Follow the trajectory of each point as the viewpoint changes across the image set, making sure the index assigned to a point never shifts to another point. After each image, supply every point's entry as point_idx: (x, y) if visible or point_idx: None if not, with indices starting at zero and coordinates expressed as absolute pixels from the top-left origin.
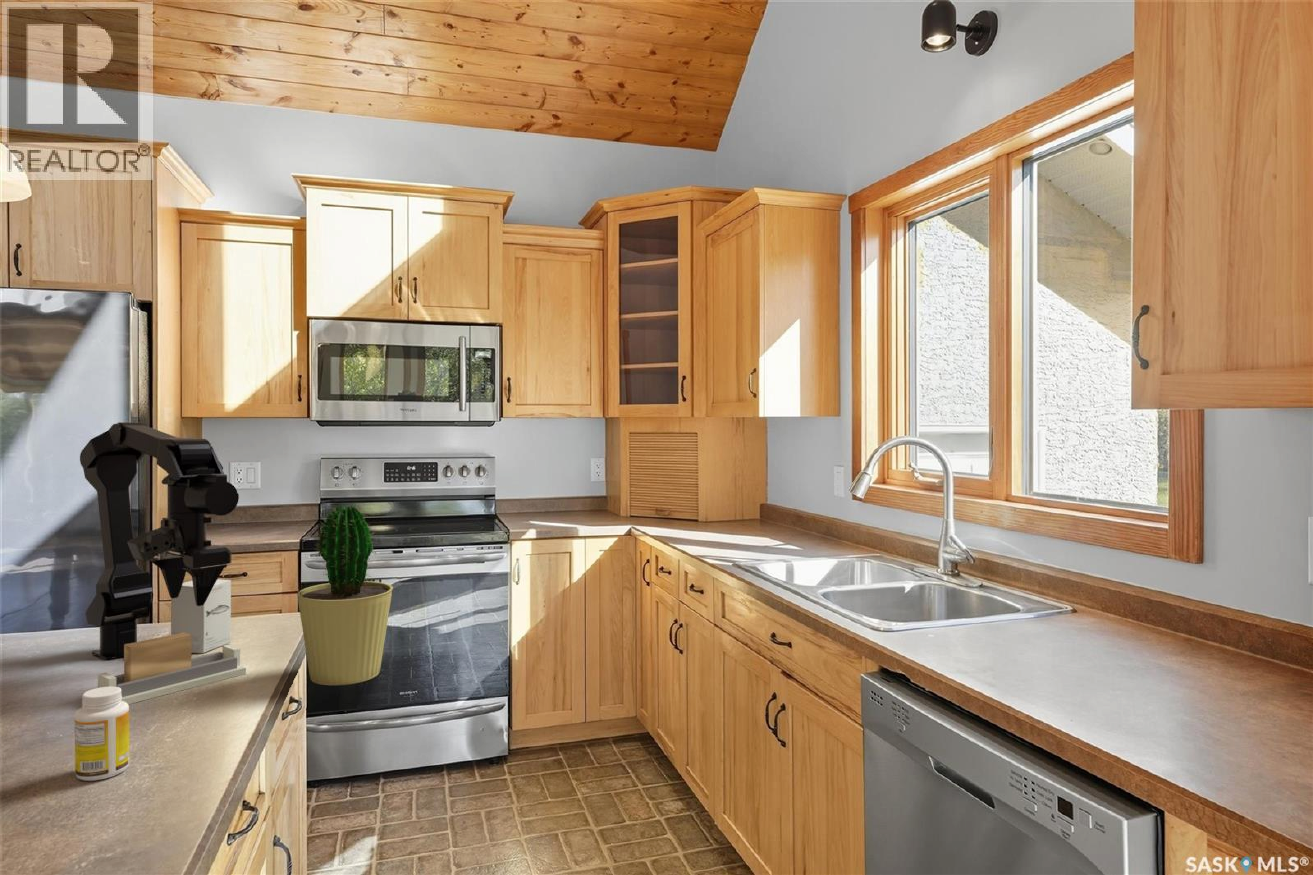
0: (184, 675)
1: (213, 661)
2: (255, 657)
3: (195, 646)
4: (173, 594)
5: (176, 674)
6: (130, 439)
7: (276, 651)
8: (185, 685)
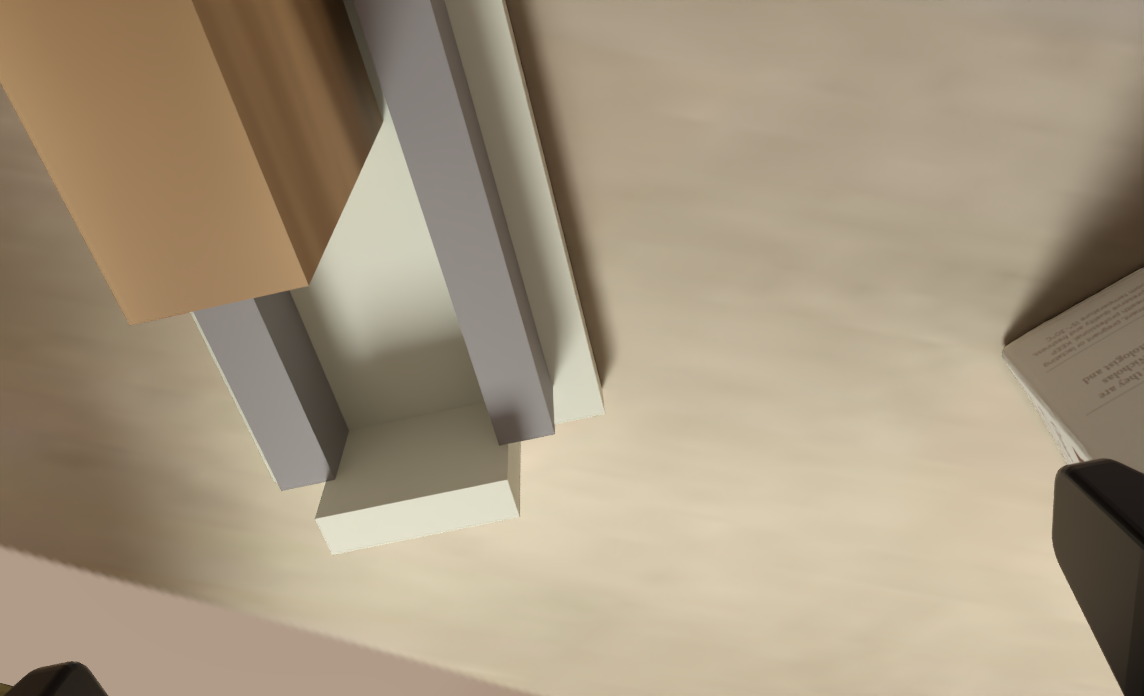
0: None
1: (273, 346)
2: (635, 566)
3: (1089, 337)
4: (1093, 539)
5: None
6: None
7: (678, 668)
8: None
